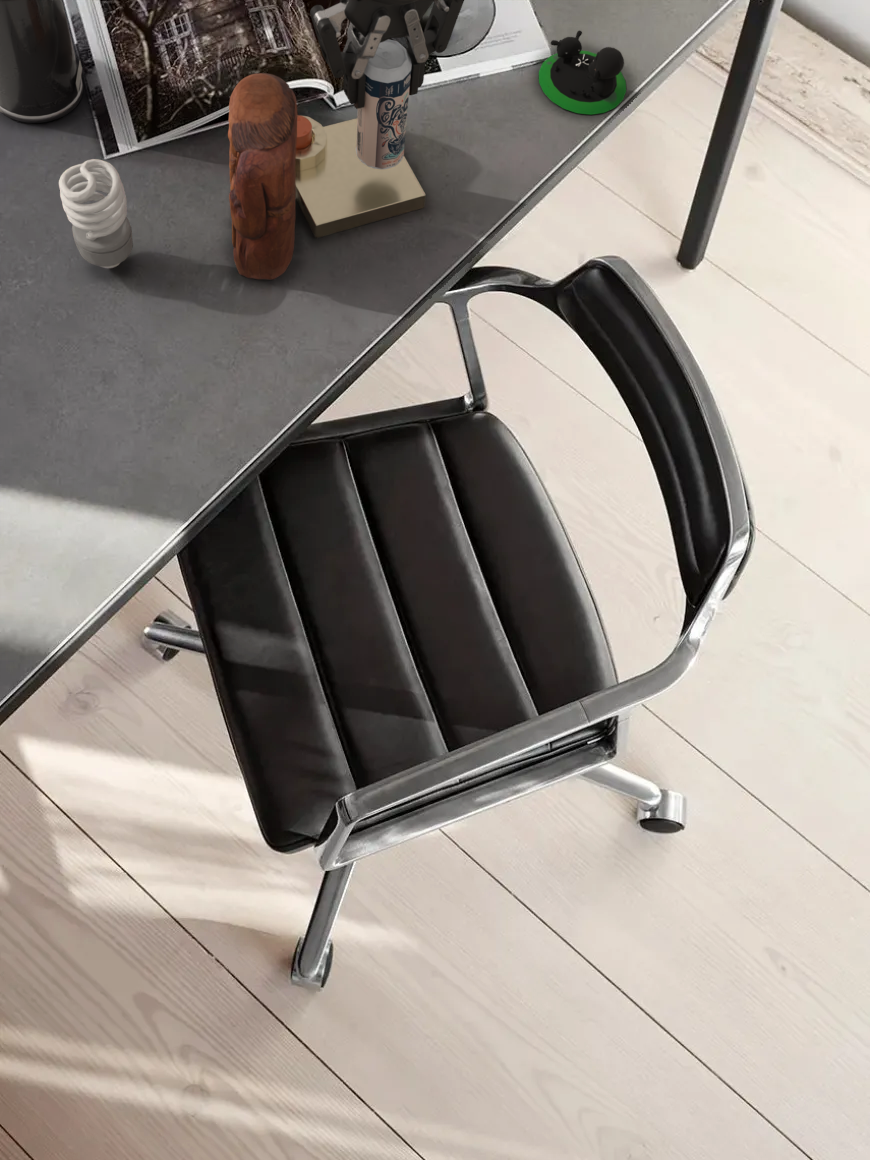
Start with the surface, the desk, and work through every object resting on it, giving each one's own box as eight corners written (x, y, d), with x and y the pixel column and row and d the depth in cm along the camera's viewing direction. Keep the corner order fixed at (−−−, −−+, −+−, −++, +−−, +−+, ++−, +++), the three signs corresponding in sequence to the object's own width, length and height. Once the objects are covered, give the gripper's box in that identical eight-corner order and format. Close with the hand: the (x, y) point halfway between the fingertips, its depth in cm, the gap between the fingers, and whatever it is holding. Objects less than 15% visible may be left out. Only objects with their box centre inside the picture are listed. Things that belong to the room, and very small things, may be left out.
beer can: (388, 180, 111) (395, 81, 100) (346, 159, 111) (349, 58, 101) (412, 150, 113) (422, 49, 102) (371, 130, 113) (376, 27, 102)
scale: (260, 149, 117) (259, 122, 114) (375, 119, 120) (376, 93, 117) (306, 241, 113) (306, 216, 109) (424, 208, 116) (427, 183, 113)
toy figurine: (580, 37, 128) (591, -8, 123) (644, 88, 126) (659, 44, 121) (519, 75, 125) (529, 30, 120) (584, 128, 122) (597, 84, 117)
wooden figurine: (239, 191, 115) (225, 40, 98) (302, 196, 115) (299, 47, 99) (228, 283, 110) (212, 141, 93) (294, 288, 110) (289, 147, 94)
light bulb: (129, 292, 108) (108, 202, 97) (72, 280, 108) (44, 188, 97) (147, 248, 110) (128, 155, 100) (91, 236, 110) (66, 141, 100)
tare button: (277, 132, 114) (277, 118, 113) (305, 125, 115) (305, 111, 113) (288, 153, 113) (288, 140, 111) (316, 146, 114) (316, 132, 112)
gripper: (454, -122, 93) (435, 51, 109) (292, -89, 90) (296, 85, 105) (493, -63, 91) (468, 105, 106) (327, -27, 87) (326, 142, 102)
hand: (382, 94), depth 105 cm, fingers closed on beer can, 4 cm apart
